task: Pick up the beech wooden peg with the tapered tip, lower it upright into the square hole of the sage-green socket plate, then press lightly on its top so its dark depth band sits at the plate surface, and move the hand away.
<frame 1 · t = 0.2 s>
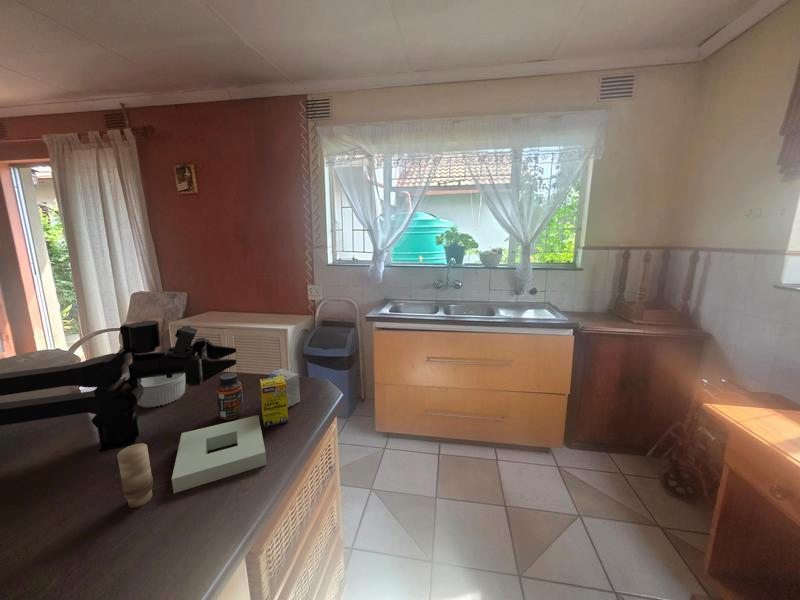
hand: (236, 355, 82), 17 cm above the kitchen island, tool horizontal, fingers open, 9 cm apart
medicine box: (285, 402, 92), on the kitchen island
supplement box: (275, 420, 82), on the kitchen island
supplement bottle: (231, 415, 84), on the kitchen island
wooden peg: (140, 500, 57), on the kitchen island
socket plate: (223, 454, 69), on the kitchen island
ramekin: (161, 399, 93), on the kitchen island
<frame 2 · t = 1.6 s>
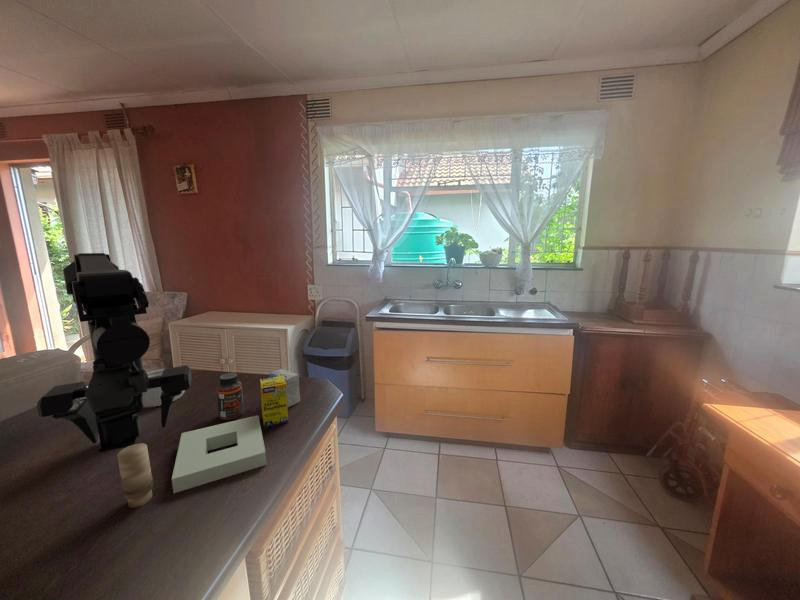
hand: (131, 434, 54), 13 cm above the kitchen island, tool pointing down, fingers open, 9 cm apart
nothing on the kitchen island moved.
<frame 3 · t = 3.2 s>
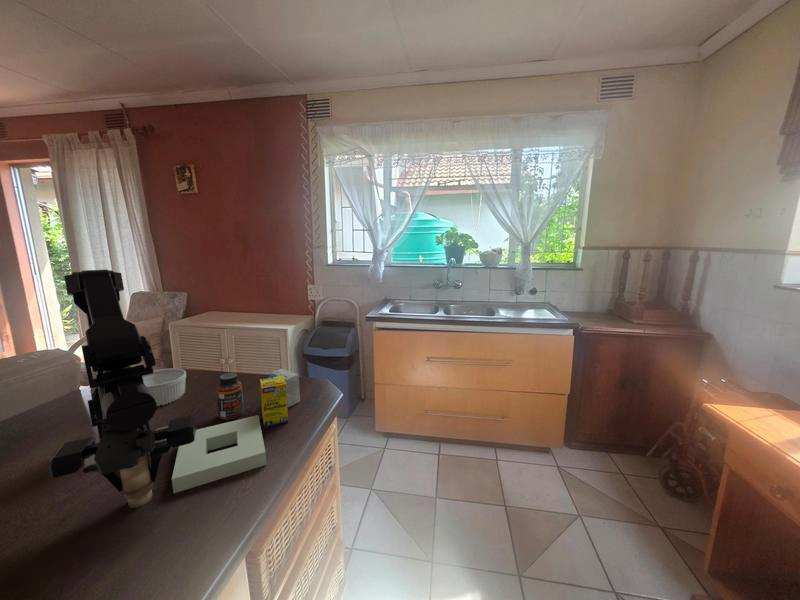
hand: (138, 485, 56), 3 cm above the kitchen island, tool pointing down, fingers closed on wooden peg, 4 cm apart
wooden peg: (140, 500, 57), on the kitchen island, touching gripper
everything else where it was.
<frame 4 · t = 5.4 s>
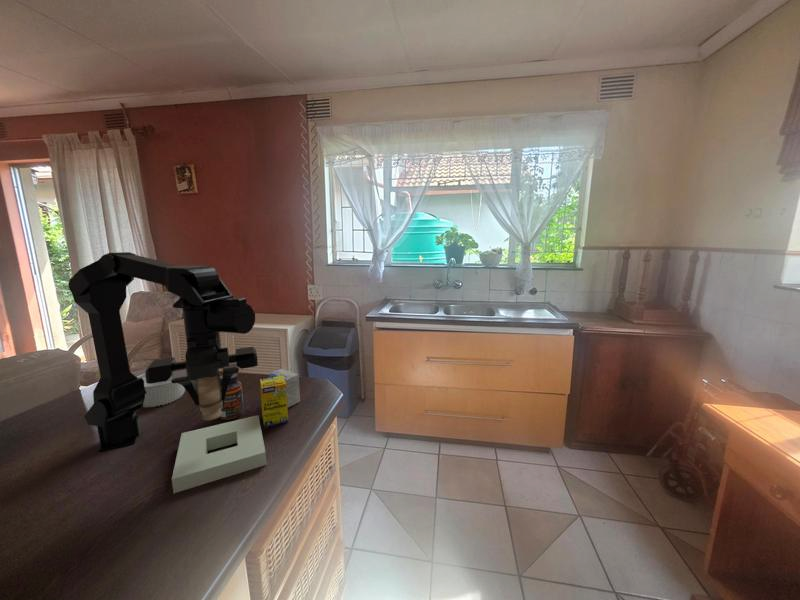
hand: (210, 402, 65), 13 cm above the kitchen island, tool pointing down, fingers closed on wooden peg, 4 cm apart
wooden peg: (212, 415, 66), point 10 cm above the kitchen island, touching gripper
everything else where it was.
when the fingers open (4 cm above the kitchen island, at t = 7.6 s): wooden peg stays where it is, resting in socket plate.
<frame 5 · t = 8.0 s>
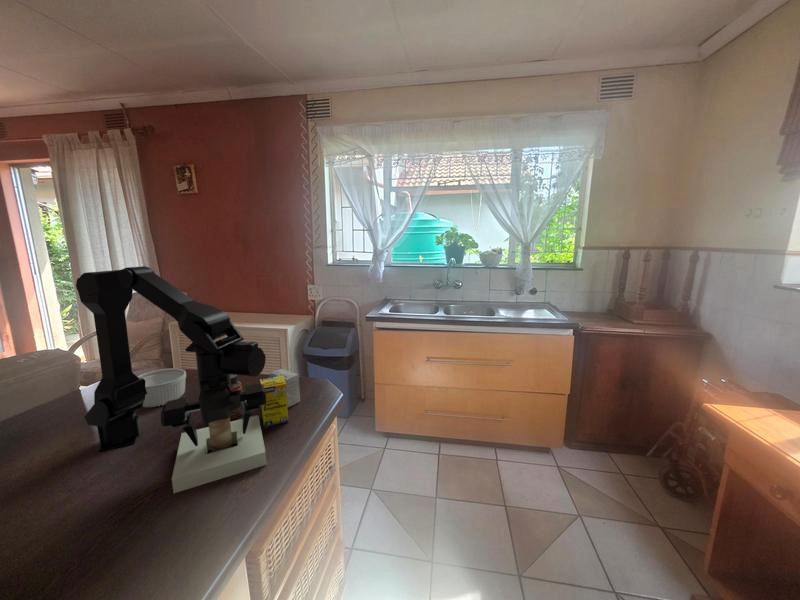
hand: (221, 438, 68), 4 cm above the kitchen island, tool pointing down, fingers open, 9 cm apart
wooden peg: (222, 454, 69), resting in socket plate
everything else where it was.
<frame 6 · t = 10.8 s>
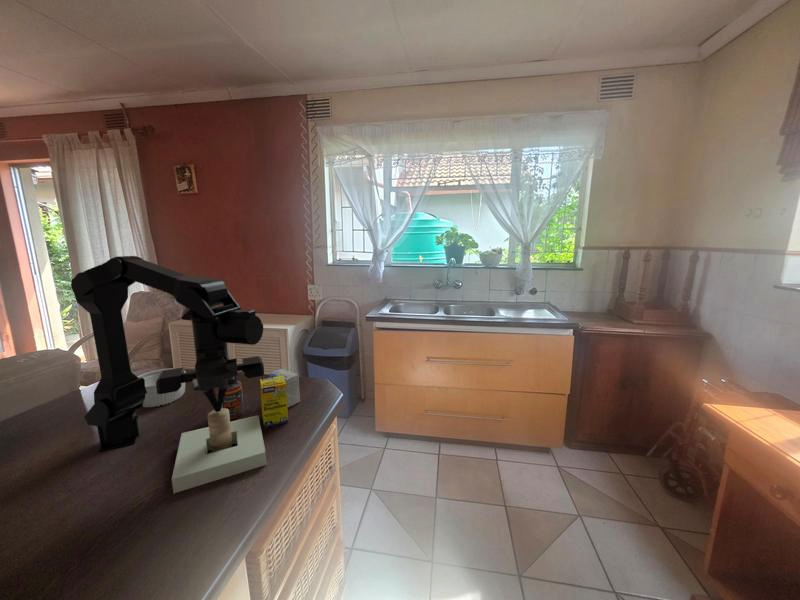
hand: (218, 410, 67), 10 cm above the kitchen island, tool pointing down, fingers closed
nothing on the kitchen island moved.
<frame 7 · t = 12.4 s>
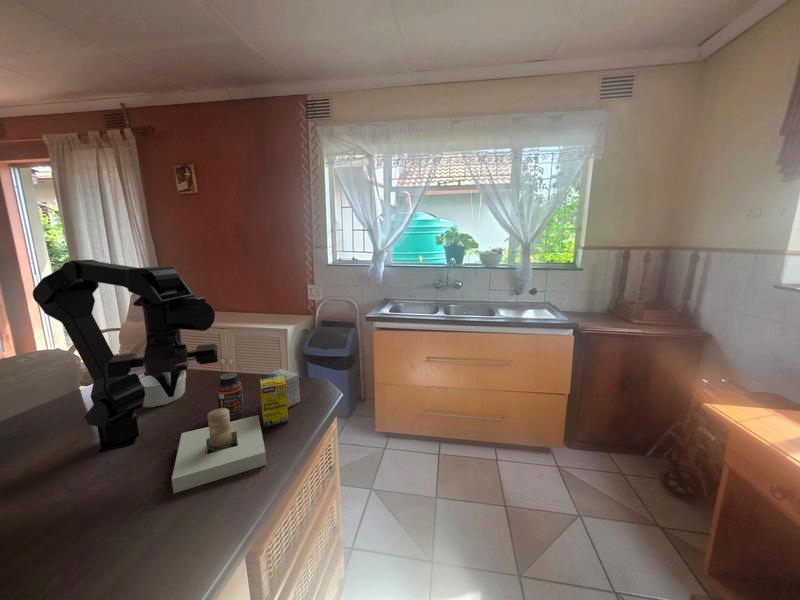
hand: (171, 396, 68), 13 cm above the kitchen island, tool pointing down, fingers closed
nothing on the kitchen island moved.
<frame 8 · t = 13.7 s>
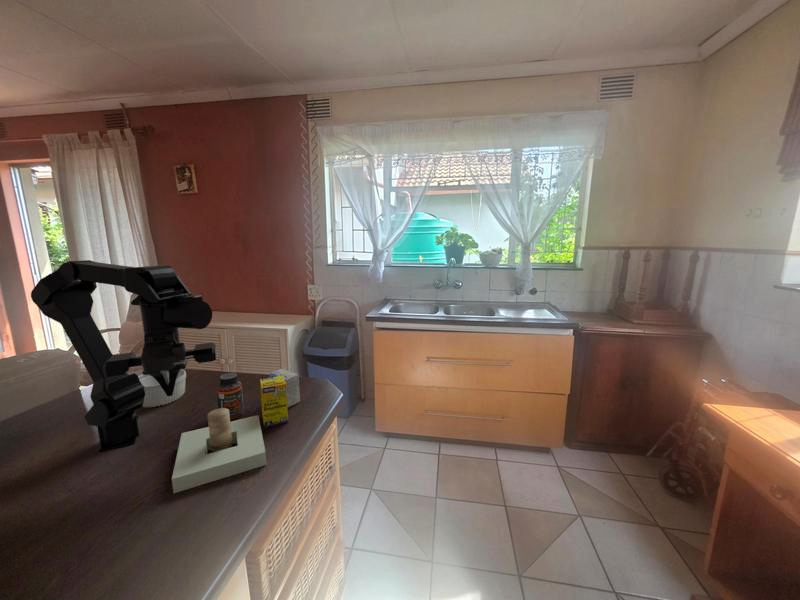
hand: (170, 395, 68), 13 cm above the kitchen island, tool pointing down, fingers closed
nothing on the kitchen island moved.
at the end: wooden peg 0.1 cm off-centre on the socket plate, point 0.0 cm above the socket plate's base; wooden peg tilted 0°; the gripper is holding nothing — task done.
